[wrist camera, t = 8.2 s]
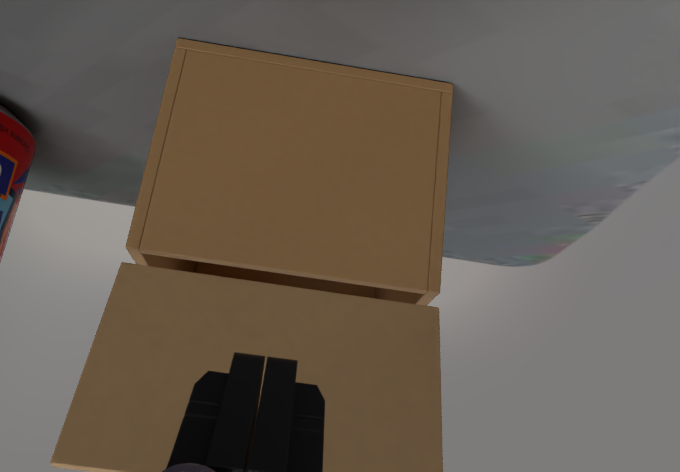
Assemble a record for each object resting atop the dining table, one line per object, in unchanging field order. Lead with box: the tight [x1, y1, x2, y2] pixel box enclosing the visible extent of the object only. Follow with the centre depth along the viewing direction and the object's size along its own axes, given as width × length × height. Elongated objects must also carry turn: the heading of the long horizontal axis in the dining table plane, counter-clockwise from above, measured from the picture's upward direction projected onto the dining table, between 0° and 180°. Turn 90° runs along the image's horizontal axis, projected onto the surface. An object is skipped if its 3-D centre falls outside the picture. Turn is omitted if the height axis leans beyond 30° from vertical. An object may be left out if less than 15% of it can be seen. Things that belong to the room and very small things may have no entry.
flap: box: [50, 262, 443, 472], centre depth 22 cm, size 7×12×1 cm
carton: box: [126, 38, 453, 306], centre depth 33 cm, size 15×12×10 cm
